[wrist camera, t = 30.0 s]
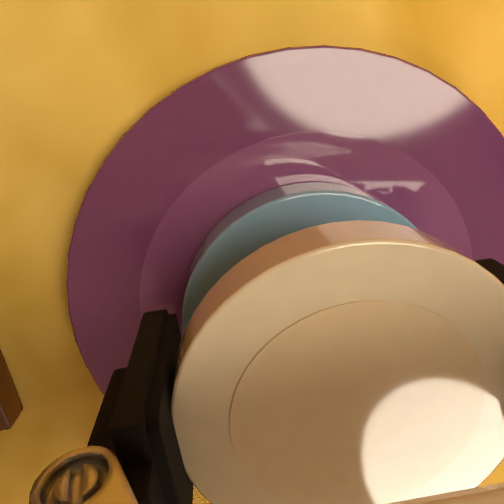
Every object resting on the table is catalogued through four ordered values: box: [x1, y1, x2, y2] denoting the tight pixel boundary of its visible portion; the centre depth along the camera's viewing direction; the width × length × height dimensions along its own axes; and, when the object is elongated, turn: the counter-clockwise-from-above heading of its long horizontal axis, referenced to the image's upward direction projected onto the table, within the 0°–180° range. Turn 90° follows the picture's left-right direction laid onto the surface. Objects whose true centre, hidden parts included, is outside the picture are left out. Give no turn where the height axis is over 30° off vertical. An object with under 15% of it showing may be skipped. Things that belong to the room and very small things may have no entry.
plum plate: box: [66, 45, 504, 396], centre depth 13 cm, size 14×14×1 cm
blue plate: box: [182, 182, 419, 335], centre depth 12 cm, size 7×7×1 cm
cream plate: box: [171, 220, 504, 504], centre depth 9 cm, size 7×7×1 cm
